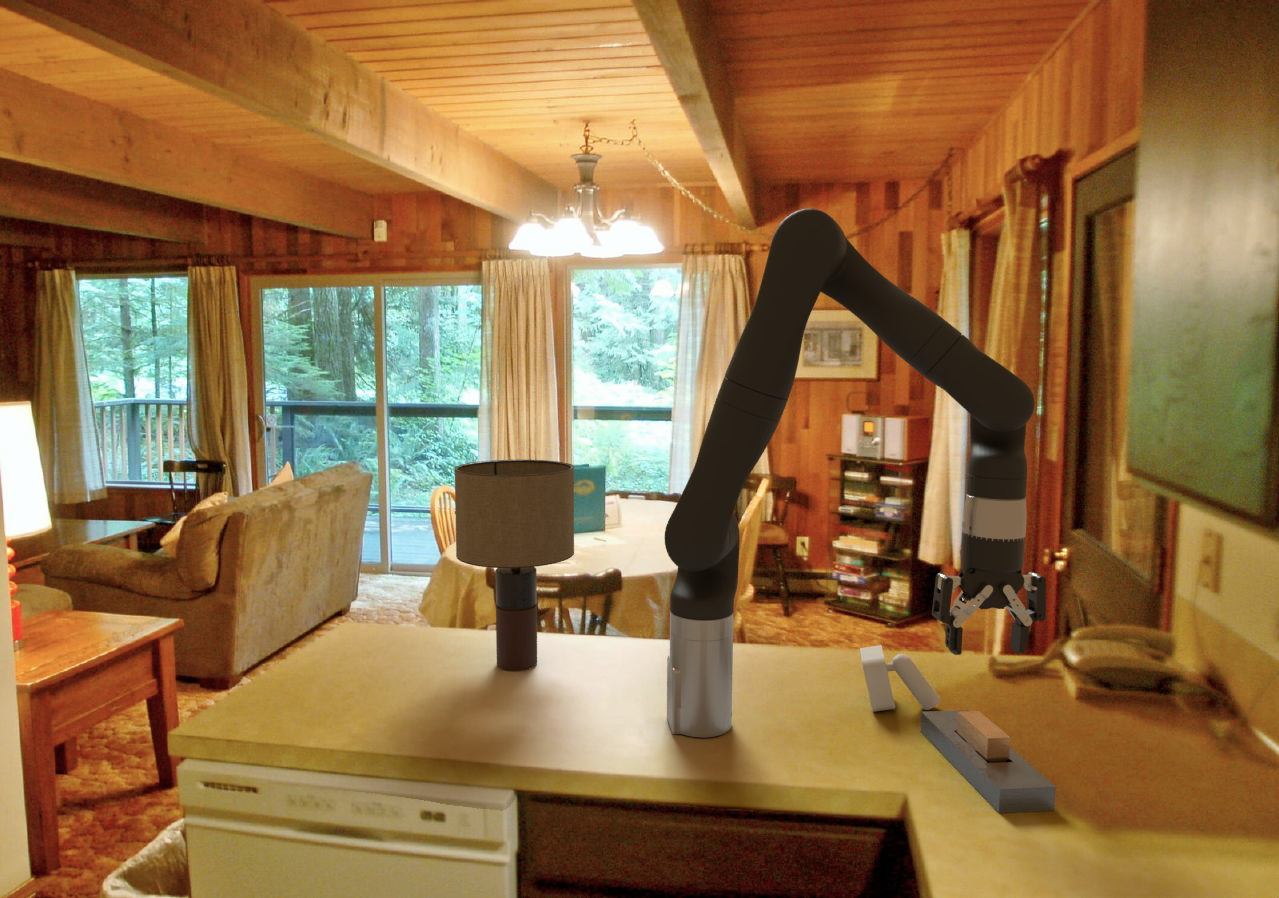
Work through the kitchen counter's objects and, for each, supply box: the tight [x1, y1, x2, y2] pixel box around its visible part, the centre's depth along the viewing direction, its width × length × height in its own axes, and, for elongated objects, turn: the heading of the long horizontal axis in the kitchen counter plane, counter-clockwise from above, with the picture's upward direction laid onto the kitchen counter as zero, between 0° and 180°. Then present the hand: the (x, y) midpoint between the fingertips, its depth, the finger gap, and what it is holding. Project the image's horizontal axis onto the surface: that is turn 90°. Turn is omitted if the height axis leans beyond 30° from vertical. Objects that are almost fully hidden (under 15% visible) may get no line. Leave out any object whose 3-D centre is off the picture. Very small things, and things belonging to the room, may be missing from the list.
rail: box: [920, 709, 1057, 814], centre depth 112 cm, size 22×7×3 cm, turn 5°
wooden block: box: [957, 710, 1011, 763], centre depth 112 cm, size 8×3×6 cm, turn 6°
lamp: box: [454, 459, 575, 672], centre depth 147 cm, size 20×20×35 cm
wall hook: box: [859, 644, 941, 713], centre depth 131 cm, size 8×10×10 cm
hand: (986, 652), depth 111 cm, fingers open, 8 cm apart
